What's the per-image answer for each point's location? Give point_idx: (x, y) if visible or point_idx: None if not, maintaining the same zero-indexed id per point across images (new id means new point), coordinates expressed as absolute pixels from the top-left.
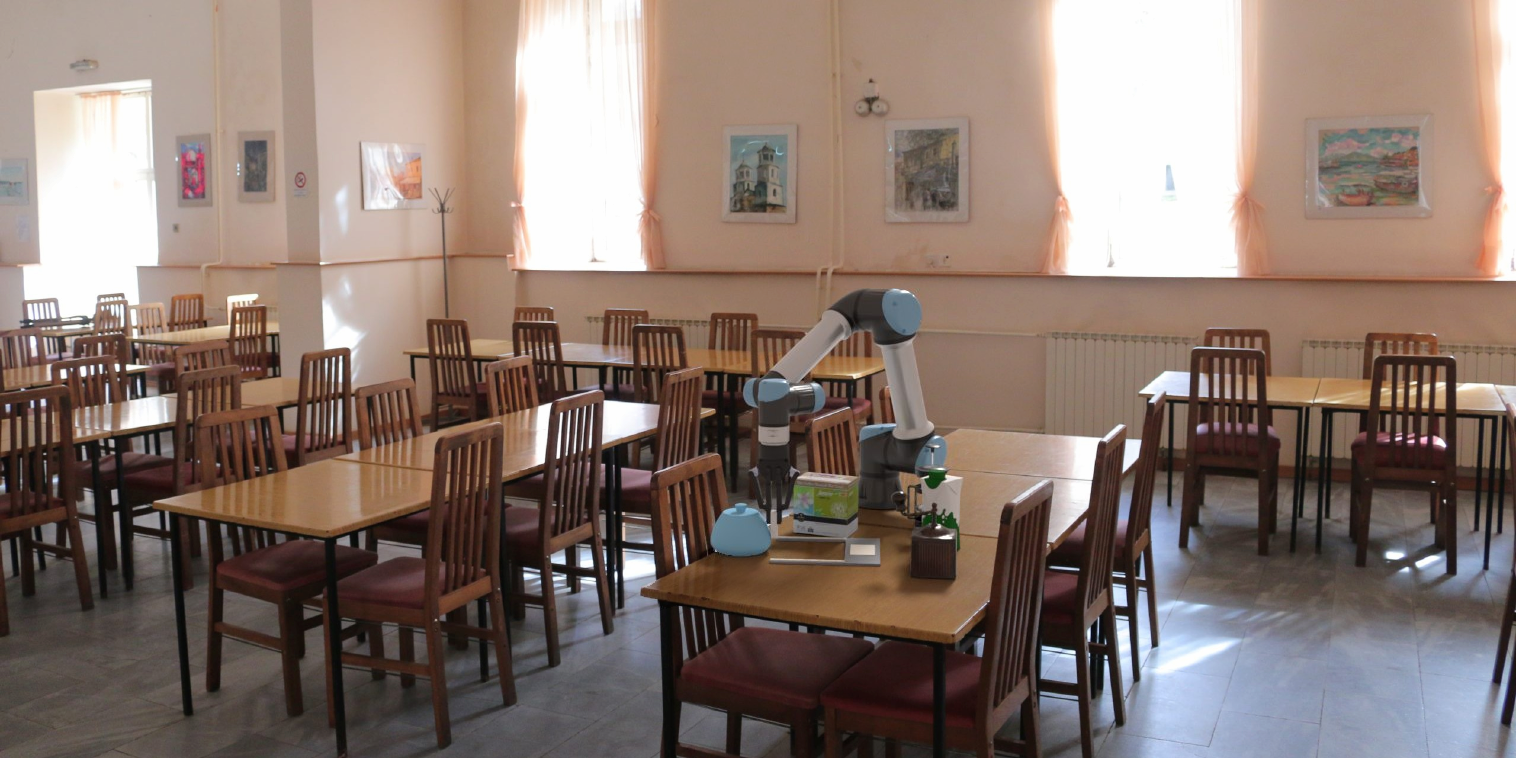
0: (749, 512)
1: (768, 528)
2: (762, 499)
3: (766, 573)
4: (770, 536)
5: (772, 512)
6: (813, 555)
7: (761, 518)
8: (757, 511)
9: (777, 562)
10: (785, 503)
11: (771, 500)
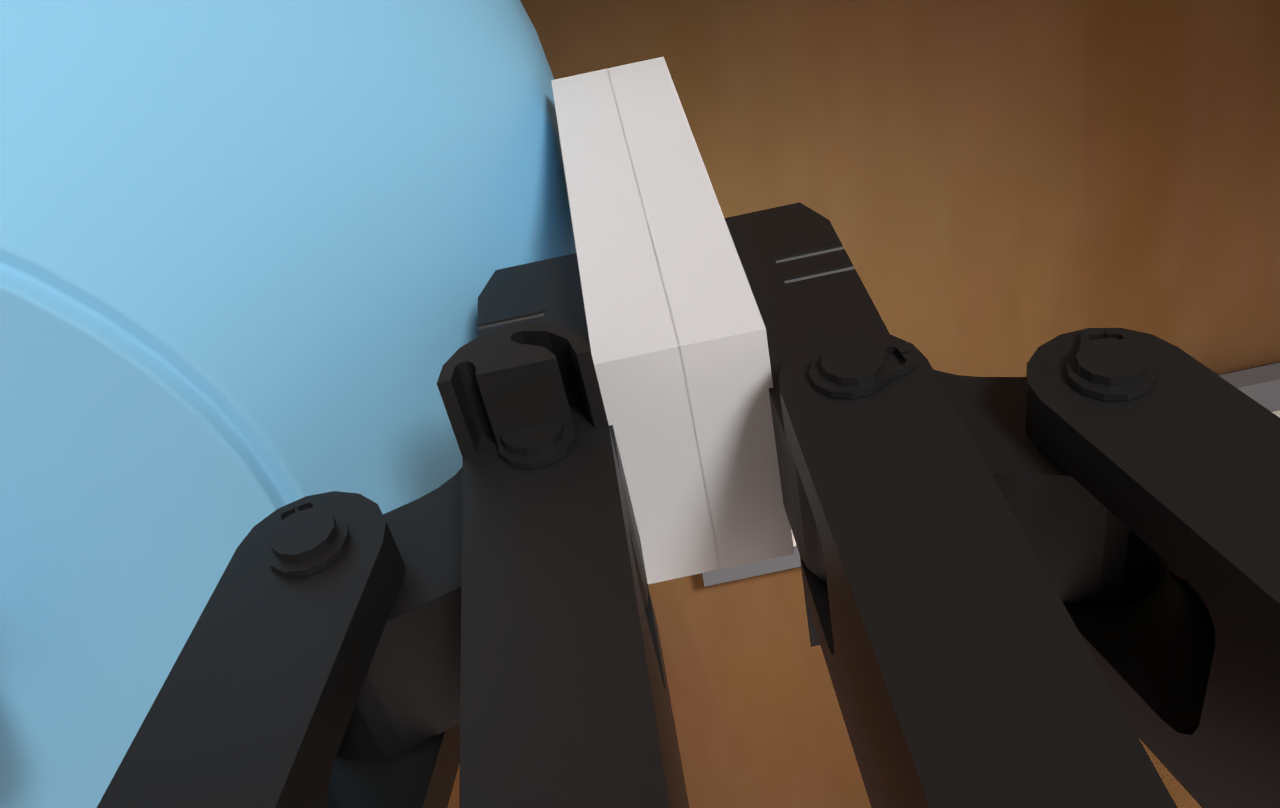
0: (92, 610)
1: (528, 248)
2: (334, 727)
3: (740, 783)
4: (569, 204)
5: (690, 569)
6: (1183, 154)
7: (415, 493)
8: (232, 479)
9: (782, 559)
10: (1113, 680)
11: (650, 651)
